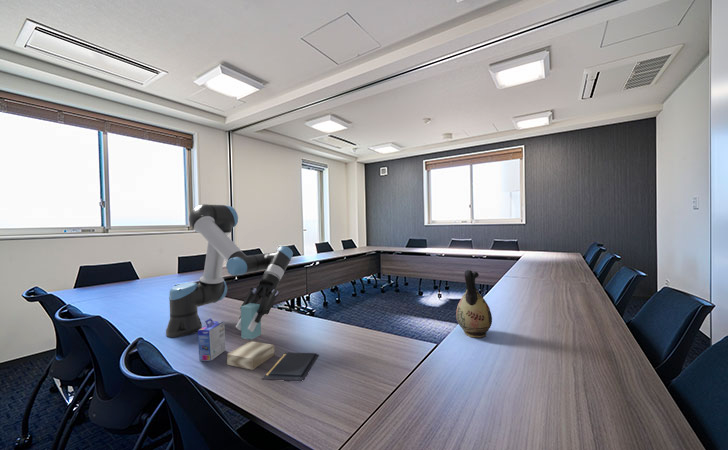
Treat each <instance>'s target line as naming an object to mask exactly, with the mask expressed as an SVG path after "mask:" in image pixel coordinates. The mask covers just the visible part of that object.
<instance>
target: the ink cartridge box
mask: <svg viewBox="0 0 728 450" xmlns="http://www.w3.org/2000/svg"><path fill="white" fill-rule="evenodd" d="M204 322H205V326H202V328H201V329H199V330H198V332H197V341H198V357H199V361H200V362H211V361H213V360H215V358H217V357H218V356H220V355H221V354H222V353H223V352H225V351H226V350H227V349H226V331H225V321H219V320H218V321H217V320H215V321H213V319H212V318H208V319H207V320H205V321H204Z"/></svg>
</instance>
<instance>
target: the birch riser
mask: <svg viewBox="0 0 728 450" xmlns="http://www.w3.org/2000/svg"><path fill="white" fill-rule="evenodd" d="M274 355H275V344H270V343H264V342H259V341H251V340H250V341H248V342H247V343H245V344H243V345H240V346H239V347H238V348H235V349H234V350H232V351H230V352H228V353H227V354H226V359H227V361H226V364H227V365H228V366H232V367H237V368H241V369H247V370H254V369H256V368H257V367H259V366H260V365H262V364H263V363H265V362H266V361H267V360H269V359H271V358H272V357H274Z"/></svg>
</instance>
